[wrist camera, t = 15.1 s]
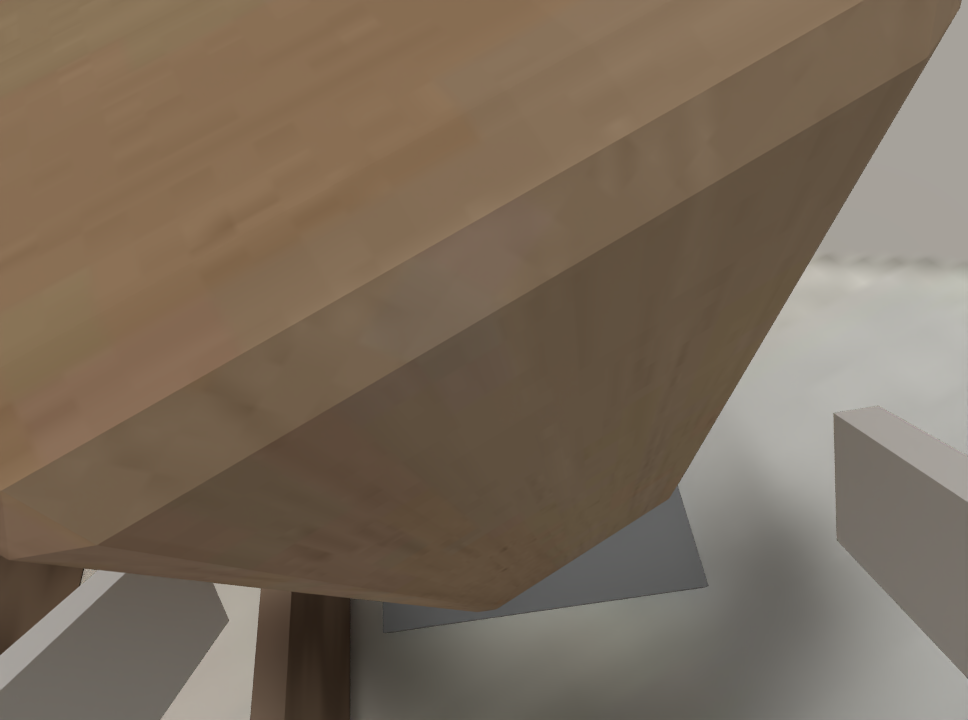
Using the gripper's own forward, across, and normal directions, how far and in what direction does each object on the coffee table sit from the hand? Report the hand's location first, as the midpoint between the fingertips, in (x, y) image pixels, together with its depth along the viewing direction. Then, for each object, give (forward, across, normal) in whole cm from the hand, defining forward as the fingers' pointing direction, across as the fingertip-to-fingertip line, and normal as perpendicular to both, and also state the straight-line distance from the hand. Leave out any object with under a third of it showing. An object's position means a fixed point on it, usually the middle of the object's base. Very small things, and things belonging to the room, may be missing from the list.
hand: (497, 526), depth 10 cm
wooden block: (+12, 0, +5) cm, 13 cm away
